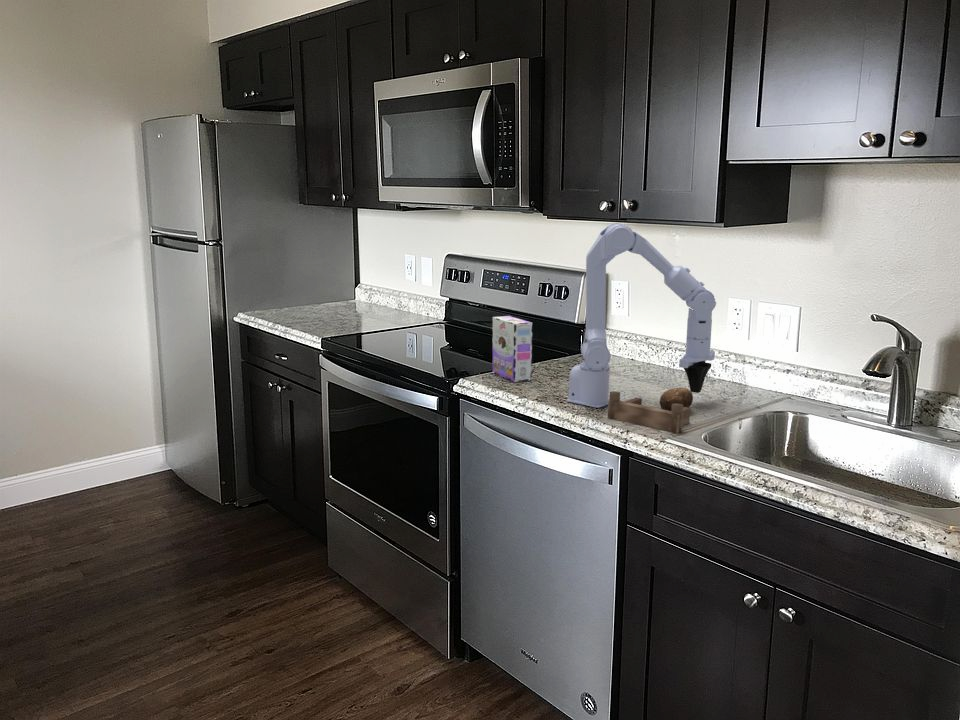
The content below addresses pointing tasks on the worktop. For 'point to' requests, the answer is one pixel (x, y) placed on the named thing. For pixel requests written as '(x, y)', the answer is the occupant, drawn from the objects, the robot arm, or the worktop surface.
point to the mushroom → (676, 398)
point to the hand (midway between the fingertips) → (695, 391)
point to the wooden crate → (647, 414)
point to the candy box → (512, 348)
